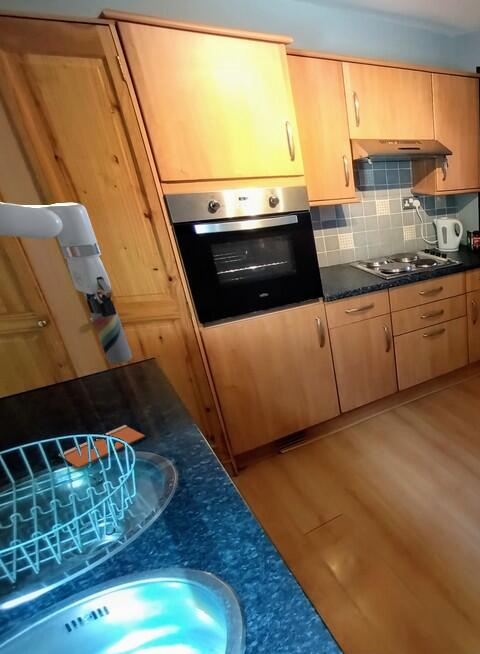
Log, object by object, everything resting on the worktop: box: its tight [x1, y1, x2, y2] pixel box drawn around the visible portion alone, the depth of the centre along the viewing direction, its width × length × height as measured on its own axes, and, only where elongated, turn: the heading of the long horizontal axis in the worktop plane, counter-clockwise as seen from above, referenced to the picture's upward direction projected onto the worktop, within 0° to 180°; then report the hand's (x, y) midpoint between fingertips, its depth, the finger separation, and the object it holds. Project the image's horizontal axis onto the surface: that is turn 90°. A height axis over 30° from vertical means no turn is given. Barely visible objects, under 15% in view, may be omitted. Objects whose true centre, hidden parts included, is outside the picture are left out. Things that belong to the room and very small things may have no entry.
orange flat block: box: [58, 424, 146, 469], centre depth 114 cm, size 14×10×1 cm
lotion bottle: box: [90, 294, 133, 365], centre depth 131 cm, size 6×6×20 cm
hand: (103, 313), depth 129 cm, fingers closed on lotion bottle, 5 cm apart
